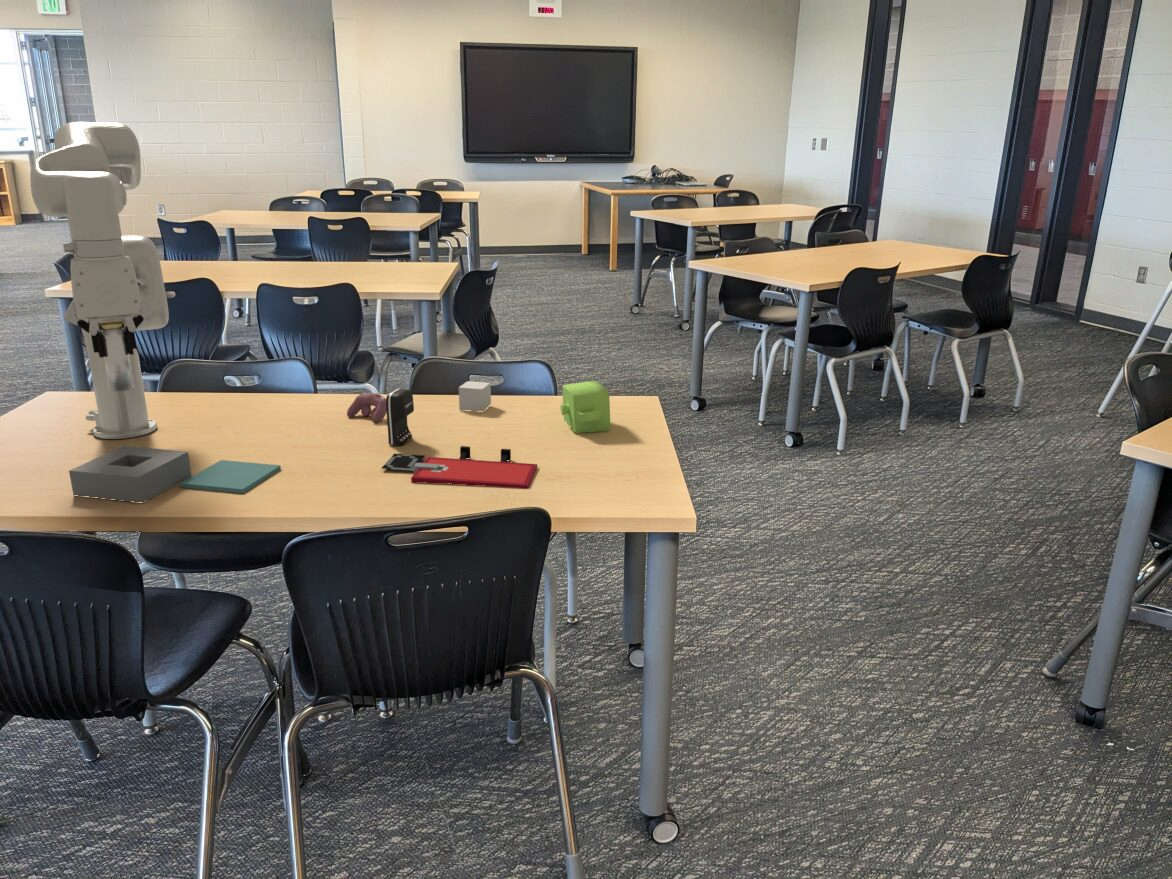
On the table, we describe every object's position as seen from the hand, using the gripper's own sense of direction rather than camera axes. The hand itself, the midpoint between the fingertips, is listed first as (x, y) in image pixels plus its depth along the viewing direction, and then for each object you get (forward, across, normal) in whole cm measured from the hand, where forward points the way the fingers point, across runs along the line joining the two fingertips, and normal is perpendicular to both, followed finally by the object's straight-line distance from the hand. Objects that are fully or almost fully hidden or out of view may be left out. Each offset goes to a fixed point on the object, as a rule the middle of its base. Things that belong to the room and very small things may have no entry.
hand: (116, 353), depth 154 cm
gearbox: (+25, +92, -11) cm, 96 cm away
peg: (+6, 0, 0) cm, 6 cm away
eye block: (+25, 0, 0) cm, 25 cm away
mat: (+25, +16, -5) cm, 30 cm away
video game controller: (+26, +52, +20) cm, 61 cm away
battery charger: (+25, +52, -1) cm, 58 cm away
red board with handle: (+26, +55, -23) cm, 65 cm away
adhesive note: (+26, +76, +14) cm, 82 cm away
